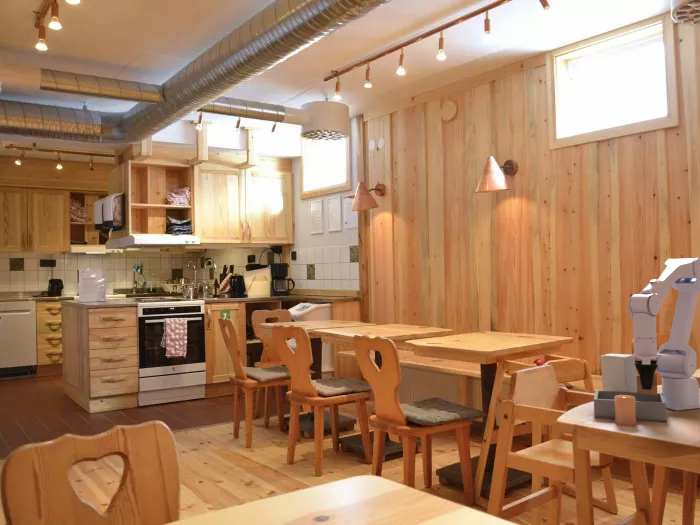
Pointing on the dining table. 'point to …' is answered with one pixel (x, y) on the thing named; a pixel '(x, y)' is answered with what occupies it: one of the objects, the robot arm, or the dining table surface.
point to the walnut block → (646, 391)
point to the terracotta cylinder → (625, 410)
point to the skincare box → (618, 372)
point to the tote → (645, 405)
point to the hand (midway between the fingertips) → (646, 387)
